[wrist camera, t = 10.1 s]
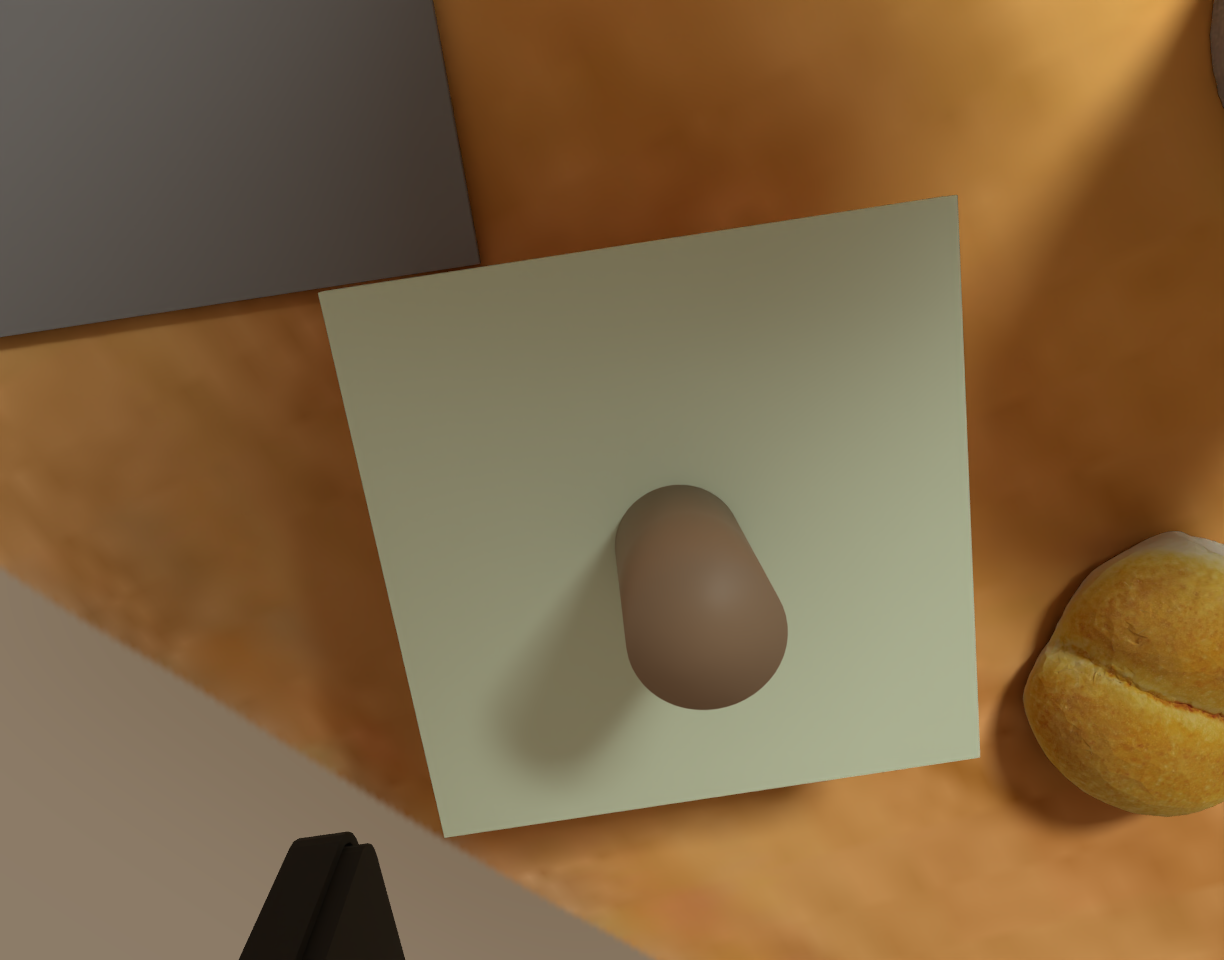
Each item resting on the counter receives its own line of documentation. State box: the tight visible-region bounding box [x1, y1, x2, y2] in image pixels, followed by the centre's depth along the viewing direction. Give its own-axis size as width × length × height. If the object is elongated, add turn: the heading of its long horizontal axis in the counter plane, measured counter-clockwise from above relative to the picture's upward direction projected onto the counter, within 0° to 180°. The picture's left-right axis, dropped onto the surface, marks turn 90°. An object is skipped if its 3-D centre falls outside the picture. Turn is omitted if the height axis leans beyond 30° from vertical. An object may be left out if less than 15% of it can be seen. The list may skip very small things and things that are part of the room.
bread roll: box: [1023, 531, 1224, 817], centre depth 28 cm, size 8×9×4 cm
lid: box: [318, 195, 980, 838], centre depth 19 cm, size 14×14×6 cm
